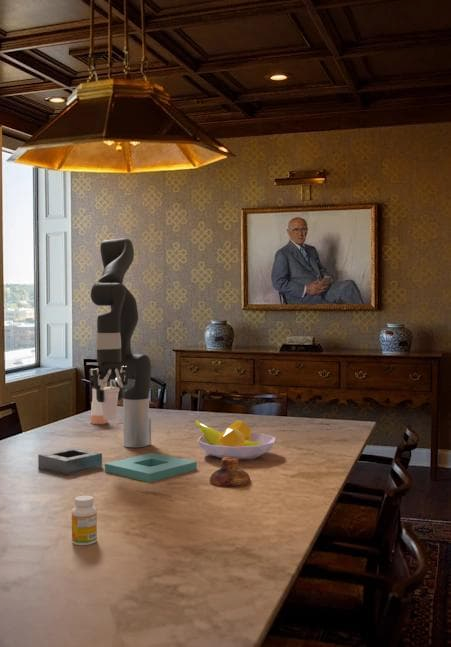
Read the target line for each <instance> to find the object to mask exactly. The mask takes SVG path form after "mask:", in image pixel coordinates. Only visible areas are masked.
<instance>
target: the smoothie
mask: <svg viewBox="0 0 451 647" xmlns="http://www.w3.org/2000/svg"><path fill="white" fill-rule="evenodd" d="M103 390H104V402H101V403H102V410H103V418H104V419H105V420H108V421H110V420H111V421H112V420H116V418H117V411H118V410H117V409H118V401H119V400H118V393H119V391H120V388H119V387H116V386H113V381H112V379H111V380H109V386H107V387H104V388H103Z"/></svg>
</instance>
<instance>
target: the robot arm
mask: <svg viewBox="0 0 451 647" xmlns="http://www.w3.org/2000/svg"><path fill="white" fill-rule="evenodd" d="M99 248H100V256H101V260H102V261H101V262H102V265H103V270H102V273H101V277H100V278H99V279H97V281H95V283H93V285H92V288H91V290H90V299H91V301H92V303H93V304H94V305H95V306H101V307H103V306H108V307H109V306H110V311H109V312H104V313H100V314H98V315H97V319H96V321H97V322H96V324H97V325H96V326H97V330H96V331H97V332H96V333H97V334H96V362H97V368H90V369H89V370H88V376H89V383H90V384H89V386H90V388H91V389H93V388H94V389H96V395H97V400H98V402H104V390H103V388H104V385H105V384H106V383H107V382H108V381H110V380H111V379H112V383H113V384H114V387H119V388H120V391H119V393H118V401H120V400H122V399H123V402H122V405H123V408H122V409H123V412H122V414H123V447H126V448H143V447H144V448H145V447H148V446H150V445H152V418H151V417H150V392H151V391H150V390H151V377H152V376H151V375H152V362H151V359H150V357H149V356H148V355H147V354H141V353H139V354H138V353H132V347H131V346H132V345H131V343H132V341H131V340H132V336H133V333H134V332H135V330H136V328H137V326H138V322H139V312H138V305H137V304H138V303H137V300H136V298H135V296H134V295H133V294H132V292H131V291H130V290H129V289H128V288H127V287H126V286H125V285H124V284H123V282H124V279H125V275H126V273H127V272H128V270H129V269H130V267H131V265H132V263H133V261H134V258H135V252H134V250H135V249H134V245H133V242H132V240H130V238H125V237H124V238H123V237H122V238H116V239H115V238H114V239H104V240H102V241H101V243H100V247H99ZM128 380H134V385H133V386H132V387H130V388H127V389H125V390H123V387H125V386H127V385H128Z"/></svg>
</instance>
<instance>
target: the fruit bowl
mask: <svg viewBox="0 0 451 647" xmlns="http://www.w3.org/2000/svg"><path fill="white" fill-rule="evenodd" d="M194 422H195V424H196V426H198V429H199V431H200V433H201V436H200V437H199V438H198V439H197V443H198V445H199V446H200V448H201V449H202V451H204V452H205V454H208V455H210V456H214V457H217V458H219V459H221V460H222V459H223V458H224V457H229V458H230V459H235V458H236V459H238V461H240V460H241V461H242V460H243V461H244V460H254V459H256V458H257V457H260V456H262V455H264V454H266V453H268V452H270V451H271V450H272V448H273V446H274V443H275V440H276V437H275V436H272V435H269V434H266V433H262V432H261V433H260V432H252V429H251V427H249V425H247V424H246V423H245V422H244V421H241V420H235V421H234V422H232V423H231V424H230V425H229V426H227V427H226V428H225V430H223V431H222V432H220V431H219V430H216V429H213V428H211V427H209V426H207V425H205V424H203V423H200V421H199V420H197V419H196V420H195V421H194Z"/></svg>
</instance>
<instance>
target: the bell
mask: <svg viewBox="0 0 451 647" xmlns="http://www.w3.org/2000/svg"><path fill="white" fill-rule="evenodd" d="M239 463H240V460H238V459H236V458H235V459H230V458H229V457H224V458H223V459H222V458H221V463H220V464H221V466H220V468H219V469H216V470H215V471H214V472H213V473H212V474H211V476H210V477H209V483H210V484H211V485H212V486H215V487H221V488H222V487H223V488H239V487H240V488H241V487H245V486H247V485H249V484H250V482H251V478H250V477H251V476H250V475H249V473H248V472H246V471H245V470H243V469H242V468H240V464H239Z"/></svg>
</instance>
